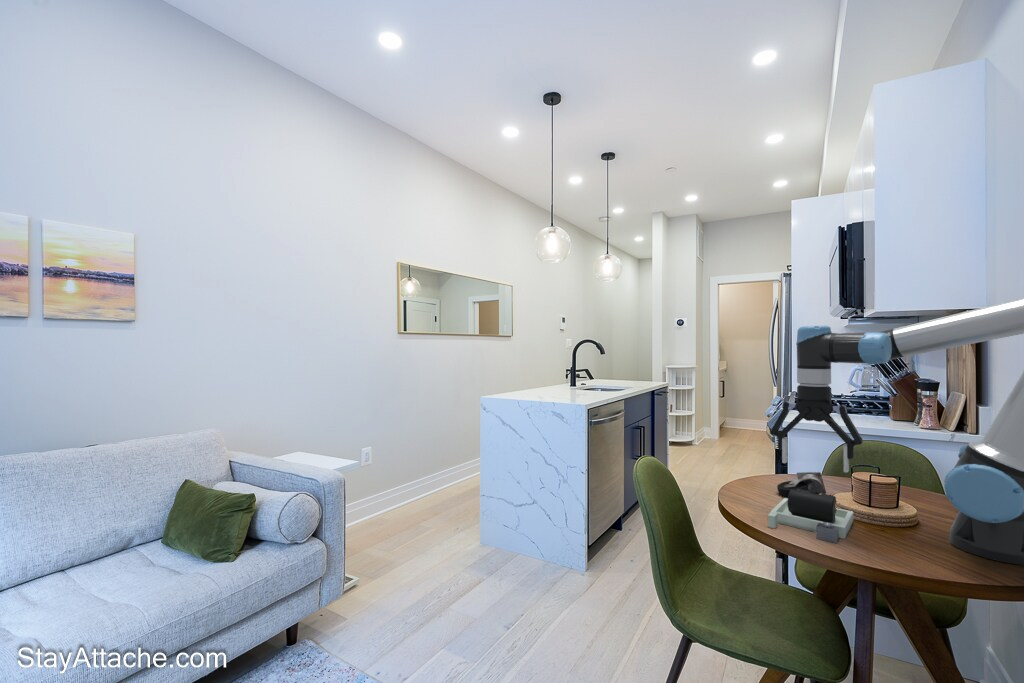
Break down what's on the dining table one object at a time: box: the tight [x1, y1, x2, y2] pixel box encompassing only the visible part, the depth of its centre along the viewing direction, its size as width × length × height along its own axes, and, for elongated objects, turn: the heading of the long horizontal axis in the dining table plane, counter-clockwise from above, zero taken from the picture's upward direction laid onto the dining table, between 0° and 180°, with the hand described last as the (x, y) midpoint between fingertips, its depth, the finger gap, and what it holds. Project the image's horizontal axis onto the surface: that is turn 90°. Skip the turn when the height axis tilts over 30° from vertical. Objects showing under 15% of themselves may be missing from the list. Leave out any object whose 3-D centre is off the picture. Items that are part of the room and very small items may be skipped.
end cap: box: [787, 489, 838, 524], centre depth 123 cm, size 10×7×7 cm
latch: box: [815, 522, 840, 544], centre depth 112 cm, size 4×3×4 cm
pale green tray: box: [767, 497, 854, 540], centre depth 122 cm, size 16×20×3 cm
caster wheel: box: [776, 471, 827, 499], centre depth 144 cm, size 7×11×10 cm
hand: (814, 466), depth 123 cm, fingers open, 13 cm apart
